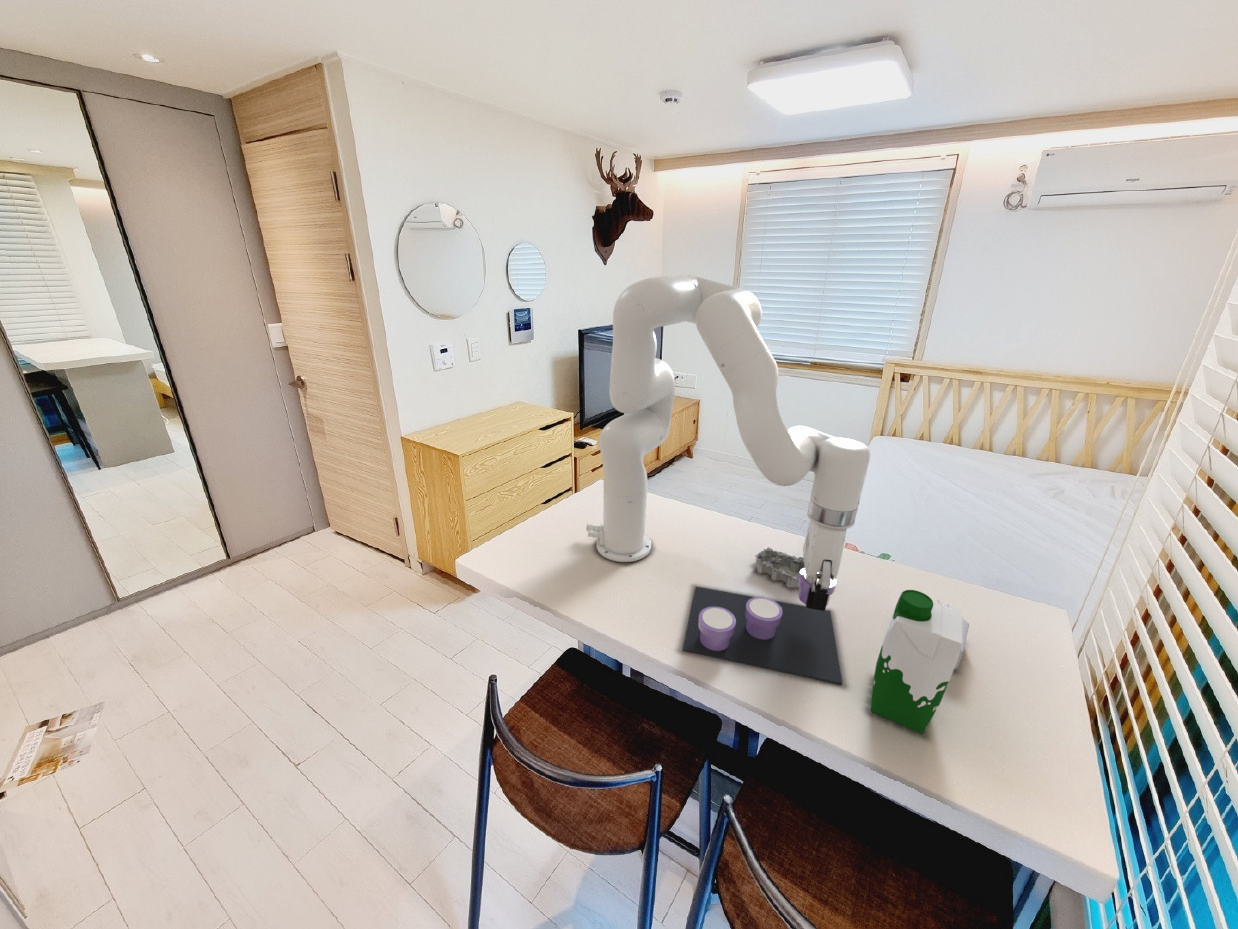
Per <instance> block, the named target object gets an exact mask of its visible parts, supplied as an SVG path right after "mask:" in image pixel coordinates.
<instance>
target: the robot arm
mask: <svg viewBox="0 0 1238 929" xmlns="http://www.w3.org/2000/svg"><path fill="white" fill-rule="evenodd" d="M762 315H763V311H762V306H761V303H760V301H759V299H758V298H757V297H756V296H755V295H754V294H753V293H752V292H751V291H749V290H746V289H744V288H741V287H736V286H733V285H729V284H726V283H722V282H718V281H715V280H712V279H708V278H704V277H701V276H697V275H692V274H675V275H660V276H654V277H649V278H645V279H641V280H639V281H636V282H634V283H631V284H630V285H629V286H627V287H626V288H625V289H624V290H622V292H620V295H619V296H618V297H617V300H616V301H615V304H614V306H613V312H612V349H611V360H610V373H609V374H610V377H609V400H610V403H611V405H612V406H613V408H614V410H616V411H618V412H619V413H623V415H621V416H619V417H616V418H614V419H612V420H611V421H609V422H608V423H607V424H606V425H605V426H604V427H603V428H602V430H601V432H600V435H599V439H598V441H599V442H598V446H599V451H600V455H601V461H602V471H603V472H602V473H603V512H602V513H603V516H602V517H603V521H602V523H601V524H600V525H599V524H595V523H587V524H586V527H585V531H586V532H587V536H588V538H596V539H597V540H596V550H597V552H598V553H599V554H600V555H601V556H602V557H604V558H605V559H607V560H610V561H613V562H617V563H631V562H636V561H639V560H642V559H644V558H645V557H646V556H648V555H649V554H650V553H651V550H652V541H651V539H650V537H649V536H647V535H646V518H647V499H648V495H647V494H648V474H647V469H646V467H645V464H644V457H645V456H646V455H647V454H648V453H650V452H652V451H653V450H655V449H657V448H658V447H660V446H661V445H662V444H663V443H664V442H665V441H666V440H667V438H668V436H669V433H670V430H671V429H670V428H671V423H672V415H673V407H674V401H675V400H674V399H675V391H676V380H675V376H674V373H673V371H672V369H671V367H670V366H669V365H668V363H666V362H665V361H664V360H663V359H660V358H656V355H657V350H658V349H657V347H658V344H657V338H656V333H655V331H654V330H655V329H657V328H661V327H666V326H671V325H676V324H681V323H684V322H686V323H687V322H688V323H691V324H695V327H696V329H697V331H698V333H699V335H700V337H701V339H702V341H703V342H704V344H705V346H706V348H707V350H708V351H709V353H710V355H711V357H712V359H713V360H714V362H715V364H716V366H717V368H718V369H719V371H720V373H721V375H722V377H723V378H724V380H725V382H726V384H727V385H728V387H729V389H730V392H731V395H732V402H733V403H732V404H733V409H734V414H735V415H734V416H735V418H736V419H735V420H736V425H737V429H738V432H739V435H740V438H741V440H742V442H743V444H744V447H745V448H746V450H747V451H748V454H749V456H750V458H751V459H752V461H753V462H754V465H755V466H756V467H757V469H758V470H759V472H760V473H761V475H763V477H764V478H765V479H766V480H768V482H770V483H772V484H774V485H777V486H781V487H790V486H794V485H795V484H798V483H800V482H801V481H802V480H803V479H805V477H806V476H807V475H808V473H809V472H812V473H813V474H814V477H813V482H812V486H811V487H812V488H811V492H810V498H809V502H808V508H807V517H808V519H809V522H808V526H807V530H806V532H805V537H804V542H803V547H802V554H803V556H802V558H804V566H805V572H806V574H807V576H809V577H810V576H811V577H813V580H812V588H809V593H808V598H807V602H806V605H805V606H806V607H807V608H810V609H816V610H821V611H824V610H827V609H826V608H827V606H828V605H827V600H828V596H829V590H830V582H831V580H834V579H836V580H837V576H838V573H839V570H840V566H841V562H842V556H843V553H844V552H843V551H844V548H845V547H844V546H845V542H846V535H847V529H851V528H852V527H853V526H854V525H855V523H856V519H857V514H858V509H859V506H860V501H861V498H862V492H863V489H864V485H865V480H866V476H867V472H868V468H869V465H870V464H869V463H870V459H871V458H870V457H871V452H870V449H869V447H868V446H867V445H866V444H865V443H863V442H861V441H858V440H856V439H853V438H846V437H836V436H833V435H831V434H828V433H825V432H822V431H820V430H817V429H815V428H812V427H809V426H805V425H795V426H791V427H789V428H788V429H787V427H786V425H785V422H783V418H782V417H781V413H780V409H779V407H778V401H777V400H778V399H777V388H778V382H779V367H778V363H777V362H776V360H775V358H774V356H773V355H772V353H771V351H770V349H769V348H768V346H767V344H766V343H765V340H764V338H762V335H761V334H760V332H759V330H758V329H757V328H759V325H760V324H761V320H762ZM819 571H821V574H817V573H818V572H819ZM817 578H819V579H821V583H820V584H817V585H816V582H817ZM826 605H827V606H826Z"/></svg>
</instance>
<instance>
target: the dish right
mask: <svg viewBox="0 0 1238 929" xmlns="http://www.w3.org/2000/svg"><path fill="white" fill-rule="evenodd" d="M817 574H821V571H819V572H818V573H817ZM812 580H813V577H811V576H810V577H809V576H807V574H806V572H805V568H803V569H801V570H800V572H799V577H798V585H799V586H800V587H798V592H797V598H798V600H799V601H800V602H801V603H802V604H804V606H806V602H807V598H808V593H809V588H812ZM820 583H821V579H819V578H817V582H816V585H817V584H820ZM837 584H838V581H837V578H836V579H834V580H831V582H830V590H829V596H828V600H827V605H826V607H827V606H828V605H829V604H830V600H831V595H833V594H834V593H835V592H836V588H837Z"/></svg>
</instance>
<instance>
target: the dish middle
mask: <svg viewBox="0 0 1238 929" xmlns="http://www.w3.org/2000/svg"><path fill="white" fill-rule="evenodd" d="M754 597H755V598H751V599H750V600H748V601H747V603H746V608H745V616H746V618H747V620H746V630H747V632H748V633H749V634H750V635H752V636H753V637H755V638H758V639H762V640H767V639H771V638H773V637H774V636H775V634H776V629H777V626H778V625H779V624H780V623H781V619H782V614H783V611H782V608H781V607H780V605H779V604H778V603H776V602H775V601H776V600H773V599H772V598H769V597H764V596H754Z"/></svg>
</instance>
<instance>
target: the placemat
mask: <svg viewBox="0 0 1238 929" xmlns="http://www.w3.org/2000/svg"><path fill="white" fill-rule="evenodd" d="M755 597H756V596H751V595H745V594H739V593H736V592H735V593H734V592H728V591H725V590H724V591H723V590H719V589H712V588H707V587H702V586H695V589H694V594H693V600H692V604H691V608H690V614H689V618H688V623H687V628H686V633H685V638H684V642H683V647H682V651H683V652H687V653H692V654H695V655H696V654H697V655H701V656H705V657H710V658H716V659H720V660H724V661H730V662H734V663H739V664H743V665H749V666H752V667H757V668H762V669H766V670H772V671H776V672H781V673H786V674H791V675H794V676H795V675H796V676H799V677H800V676H801V677H805V678H810V679H813V680H819V681H824V682H828V683H833V684H836V685H837V684H838V685H843V679H842V673H841V672H842V671H841V668H840V667H841V666H840V661H839V655H838V648H837V643H836V636H835V630H834V626H833V624H834V623H833V619H832V613H831V610H829V609H825V610H824V611H821V610H816V609H810V608H807V607H806V605H801V604H795V603H789V602H785V601H779V600H774V601H775V602H776V603H778V604H779V605H780V607H781V608H782V611H783V614H782V619H781V623H780V624H779V625H778V626H777V629H776V634H775V636H774V637H773V638H771V639H767V640H762V639H758V638H755V637H753V636H752V635H750V634H749V633H748V632H747V630H746V620H747V618H746V616H745V608H746V603H747V601H748V600H750V599H751V598H755ZM707 607H721V608H724V609H726V610H728V611H730V612H731V613H732V614H733V615H734V617H735V619H736V626H735V632H734V634H733V635H732V636H731V640H730V645H729V647H728V648H726V649H725V650H722V651H713V650H710V649H708V648H706V647H704V646H703V645H702V643H701V642H700V638H699V637H700V629H699V627H698V620H699V614H700V612H701V611H702V610H703V609H705V608H707Z"/></svg>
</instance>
